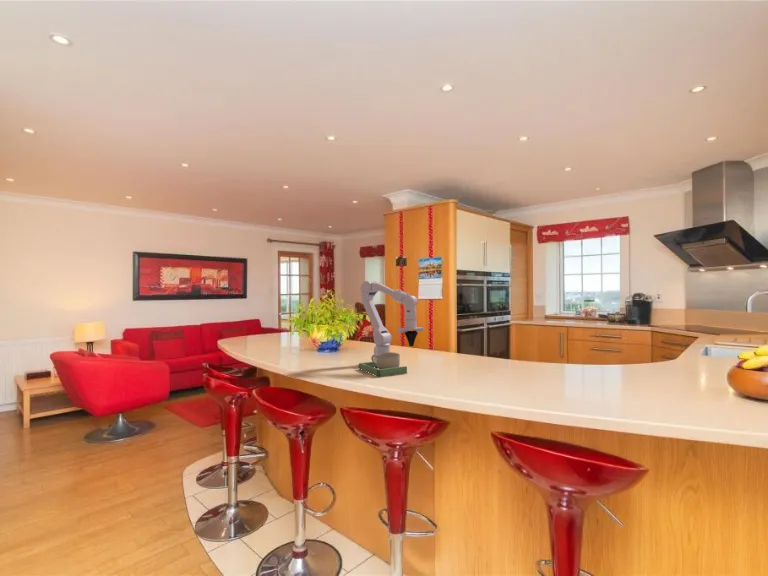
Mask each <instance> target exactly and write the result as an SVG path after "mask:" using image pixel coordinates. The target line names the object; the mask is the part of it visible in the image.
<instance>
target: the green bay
mask: <svg viewBox="0 0 768 576" xmlns="http://www.w3.org/2000/svg"><path fill="white" fill-rule="evenodd" d="M376 362H377V361H376ZM374 367H378V366H377V365H376V364H374V363H373V362H372V361H366V362H359V363H358V369H359V368H360V369H362V370H364V371H367V372H369V373H371V374H370V375H372V374H374V375H376V376H375V377H377V376H382V377H387V376H386V375H390V376H396V375H395V374H398V375H405V374H408V366H407V365H405V366H399V367H395V368H387V369H379V368H374ZM362 370H361V371H362ZM364 371H363V372H364ZM367 372H366V373H367ZM369 373H368V374H369ZM404 373H405V374H404ZM374 375H373V376H374Z"/></svg>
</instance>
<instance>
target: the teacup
mask: <svg viewBox="0 0 768 576" xmlns="http://www.w3.org/2000/svg"><path fill="white" fill-rule="evenodd" d="M374 356H376V357H377V362H376V361H375V360H374ZM400 357H401V354H400V353H399V352H392V351H390V352H387V353H380V354H378V355H377V354H374V353H373V354H372V355H371V357H370V359H371V362H373V363H374V364H376V365H377V366H378V368H377V369H387V368H395V367H401V365H400V364H401V358H400Z"/></svg>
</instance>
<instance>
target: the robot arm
mask: <svg viewBox="0 0 768 576" xmlns="http://www.w3.org/2000/svg"><path fill="white" fill-rule="evenodd" d="M359 290H360V294H361V303H362V305H363V307H364V309H365V312H366V313H367V316H368V318H369V319H368V320H369V321H370V323H371V326H372V329H373V332H372V336H373V342H374V344H375V346H374V348H373V355H374V354H377V355H378V354H380V353H387V352H391V342H392V341H393V335H392V334H391V333H390V332H389V330H388V329H387V328H386V326H384V325H383V322H382V319H381V317H380V315H379V312H378V310H377V308H376V306H375V303H374V301H373V299H374V297H375V296H376V294H377V293H378V292H381V293H384V294H386V295H388V296H391V298H392V300H393V301H395V302H397V303H400V304H401V305H403V306H404V324H405V325H404V326H405V327H402V328H401V327H399V328H397V333H399V334H400V333H404V335H405V337H406V339H407V341H408V342H407V343H408V346H409V347H414V345H415V341H416V338H417V336H418V334H419V333H418V332H424V331H425V327H424V326H418V325H417V305H418V302H419V300H418V297H417V296H415V295H413V294H411V295H410V293H406V292H405V291H402V290H403V289H400V288H399V289H392V288H390V287H388V286H387V285H385V284H383V283H381V282H377V281H374V280H373V281H367V280H365V281H363V282H362V283H361V285H360V288H359ZM374 360H375V361H377V357H376V356H374Z"/></svg>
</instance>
